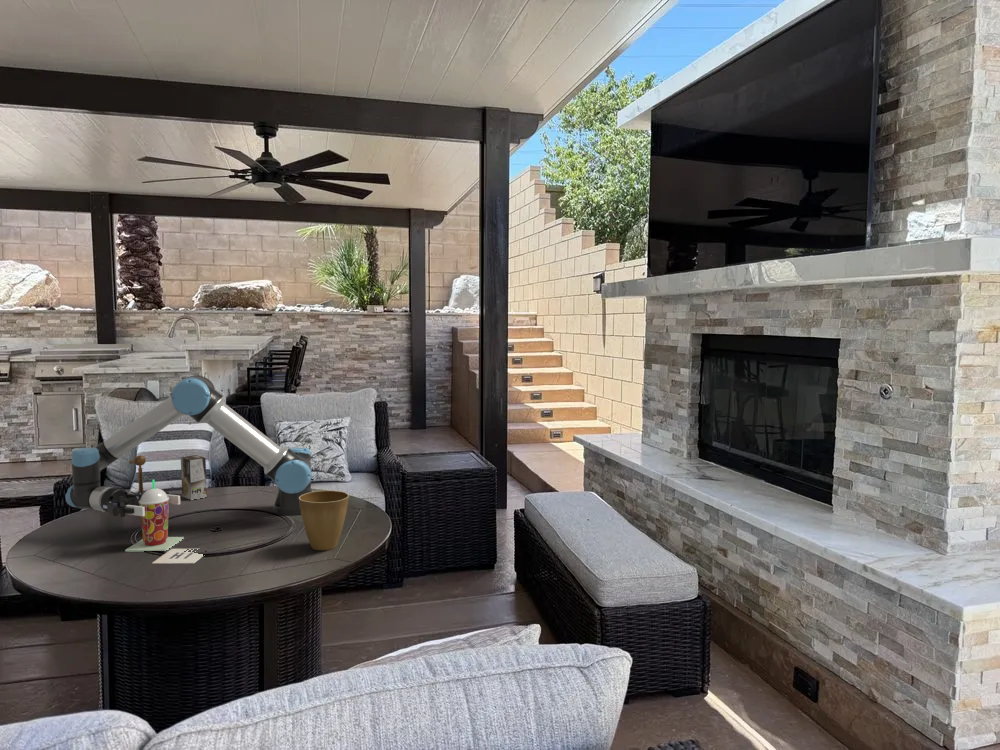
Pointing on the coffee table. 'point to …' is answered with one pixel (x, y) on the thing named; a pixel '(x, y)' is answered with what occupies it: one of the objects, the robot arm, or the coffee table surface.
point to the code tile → (178, 557)
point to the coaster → (165, 546)
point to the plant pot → (323, 517)
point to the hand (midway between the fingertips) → (162, 505)
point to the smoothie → (154, 516)
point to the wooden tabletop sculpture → (139, 470)
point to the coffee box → (193, 477)
